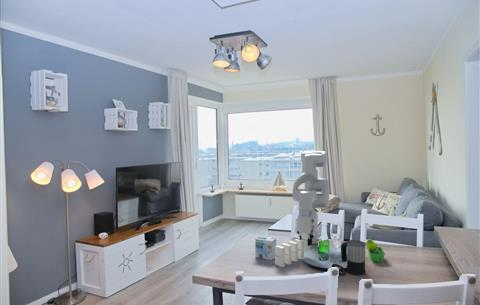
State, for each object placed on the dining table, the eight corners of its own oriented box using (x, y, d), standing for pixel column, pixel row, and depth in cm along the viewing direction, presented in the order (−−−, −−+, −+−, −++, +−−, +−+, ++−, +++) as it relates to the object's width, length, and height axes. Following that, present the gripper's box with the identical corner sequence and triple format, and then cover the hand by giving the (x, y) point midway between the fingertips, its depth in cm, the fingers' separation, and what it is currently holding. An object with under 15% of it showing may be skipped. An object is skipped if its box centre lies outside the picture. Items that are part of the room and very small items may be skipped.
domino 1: (277, 263, 181) (277, 245, 180) (284, 266, 177) (284, 247, 177) (275, 264, 179) (274, 246, 179) (282, 267, 176) (282, 248, 175)
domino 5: (303, 246, 195) (303, 229, 195) (310, 248, 191) (310, 231, 191) (301, 247, 194) (301, 230, 193) (308, 249, 190) (308, 231, 190)
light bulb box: (255, 257, 191) (254, 238, 190) (259, 253, 197) (259, 235, 196) (272, 260, 186) (272, 241, 185) (276, 256, 192) (276, 237, 191)
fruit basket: (385, 263, 179) (385, 242, 179) (368, 262, 181) (368, 241, 181) (380, 256, 190) (381, 236, 190) (364, 255, 192) (364, 235, 192)
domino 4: (296, 256, 192) (296, 238, 191) (304, 258, 188) (303, 240, 188) (294, 257, 190) (294, 239, 190) (301, 259, 187) (301, 241, 186)
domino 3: (290, 258, 188) (290, 241, 188) (297, 260, 184) (297, 242, 184) (288, 259, 187) (288, 241, 186) (295, 261, 183) (295, 243, 183)
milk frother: (369, 271, 168) (369, 242, 168) (355, 281, 157) (355, 250, 156) (342, 264, 178) (342, 236, 178) (328, 273, 167) (327, 243, 166)
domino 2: (284, 261, 184) (284, 243, 184) (291, 263, 181) (291, 245, 180) (281, 262, 183) (281, 243, 183) (289, 264, 179) (288, 245, 179)
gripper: (321, 214, 188) (322, 246, 189) (297, 209, 201) (298, 240, 201) (314, 216, 183) (314, 249, 184) (289, 211, 196) (289, 242, 196)
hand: (305, 244), depth 192 cm, fingers closed on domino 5, 4 cm apart
